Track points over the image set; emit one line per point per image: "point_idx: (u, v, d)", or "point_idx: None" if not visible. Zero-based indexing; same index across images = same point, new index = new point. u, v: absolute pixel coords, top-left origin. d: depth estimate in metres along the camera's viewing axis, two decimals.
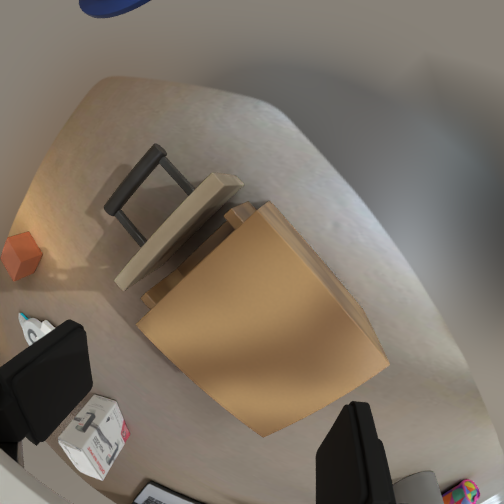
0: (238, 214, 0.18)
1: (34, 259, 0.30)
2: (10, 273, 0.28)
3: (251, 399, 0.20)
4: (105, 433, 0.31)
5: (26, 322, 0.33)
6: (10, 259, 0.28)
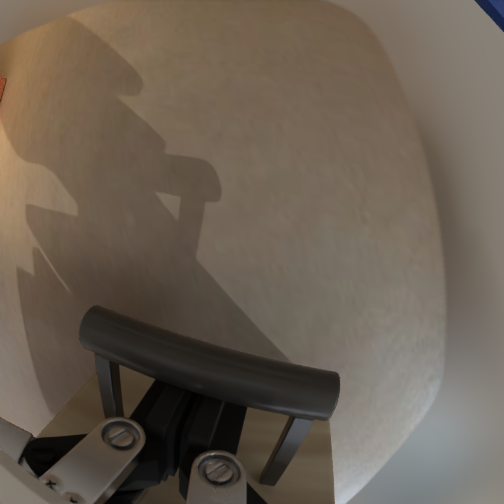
0: None
1: None
2: None
3: None
4: None
5: None
6: None
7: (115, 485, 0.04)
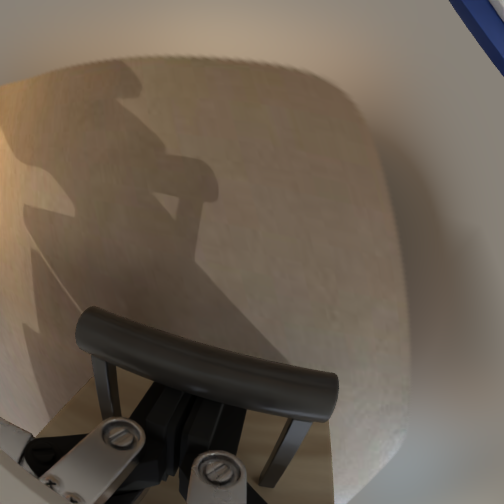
0: None
1: None
2: None
3: None
4: None
5: None
6: None
7: (115, 485, 0.04)
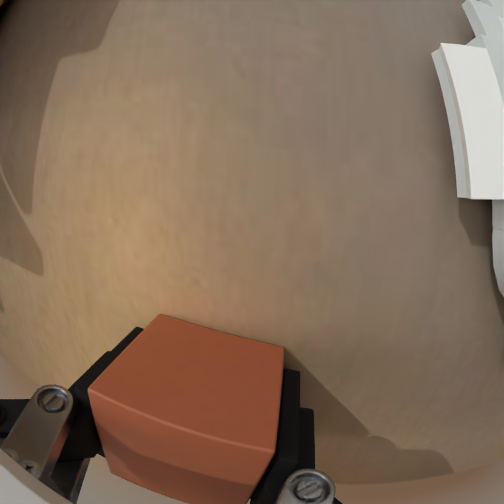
0: None
1: (152, 340, 0.08)
2: (241, 472, 0.05)
3: None
4: None
5: None
6: (161, 466, 0.05)
7: (58, 446, 0.04)
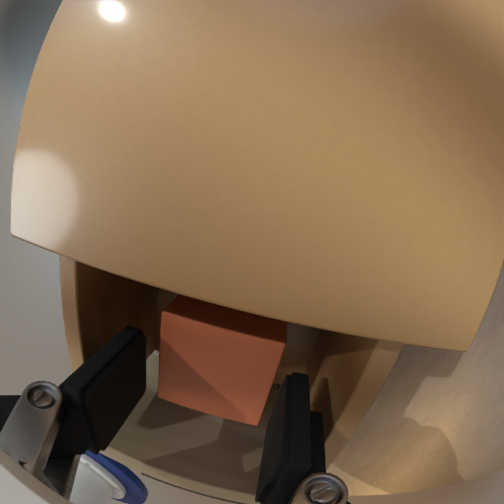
0: None
1: None
2: (263, 368, 0.09)
3: None
4: None
5: None
6: (206, 374, 0.10)
7: (49, 441, 0.04)
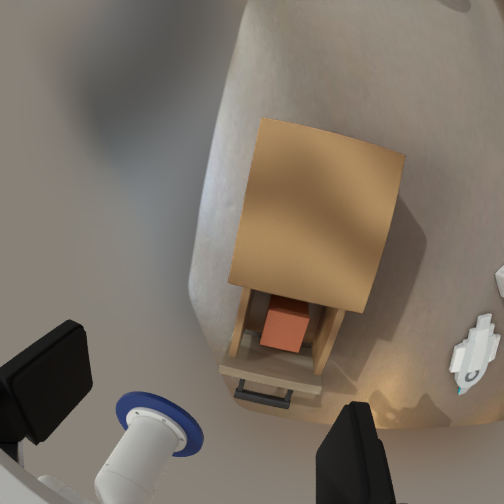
0: (229, 350, 0.29)
1: (275, 300, 0.32)
2: (302, 327, 0.29)
3: (368, 194, 0.22)
4: None
5: (460, 386, 0.33)
6: (281, 331, 0.29)
7: None
